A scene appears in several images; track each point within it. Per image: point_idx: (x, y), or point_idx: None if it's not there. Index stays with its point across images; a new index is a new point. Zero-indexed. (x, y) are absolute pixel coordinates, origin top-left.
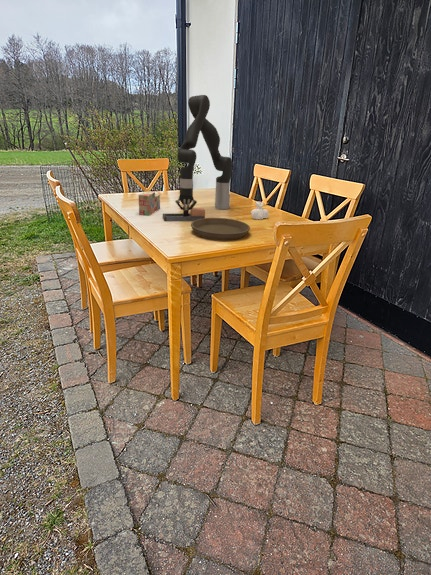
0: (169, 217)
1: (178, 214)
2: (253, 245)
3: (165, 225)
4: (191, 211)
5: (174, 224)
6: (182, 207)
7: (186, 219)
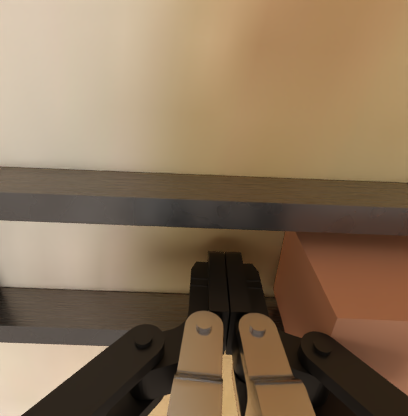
0: (15, 336)
1: (127, 220)
2: None
3: (17, 397)
4: None
5: None
6: (158, 390)
7: None
